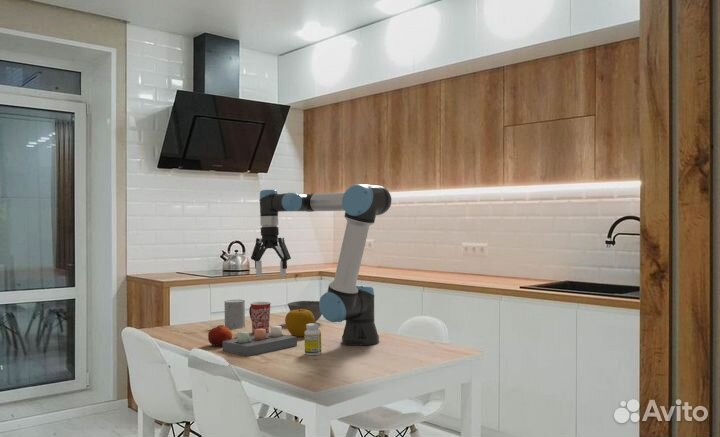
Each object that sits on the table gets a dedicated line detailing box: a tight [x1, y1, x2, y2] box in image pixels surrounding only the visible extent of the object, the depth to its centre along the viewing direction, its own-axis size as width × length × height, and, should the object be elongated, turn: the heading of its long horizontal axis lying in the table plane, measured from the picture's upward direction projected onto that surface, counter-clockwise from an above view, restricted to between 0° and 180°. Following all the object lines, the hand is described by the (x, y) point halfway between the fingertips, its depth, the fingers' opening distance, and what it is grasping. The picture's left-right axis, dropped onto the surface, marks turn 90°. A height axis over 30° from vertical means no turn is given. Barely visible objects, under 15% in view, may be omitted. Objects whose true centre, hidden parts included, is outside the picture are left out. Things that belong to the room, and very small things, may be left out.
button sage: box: [236, 331, 250, 344], centre depth 231 cm, size 4×4×4 cm
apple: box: [284, 309, 316, 338], centre depth 262 cm, size 13×13×11 cm
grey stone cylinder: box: [224, 299, 246, 330], centre depth 286 cm, size 10×10×12 cm
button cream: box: [270, 325, 283, 338], centre depth 243 cm, size 4×4×4 cm
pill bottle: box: [303, 322, 322, 356], centre depth 225 cm, size 6×6×11 cm
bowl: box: [286, 300, 323, 323], centre depth 293 cm, size 19×19×10 cm
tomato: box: [207, 324, 233, 347], centre depth 244 cm, size 9×9×8 cm
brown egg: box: [253, 329, 266, 341], centre depth 237 cm, size 4×4×4 cm
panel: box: [222, 331, 298, 357], centre depth 237 cm, size 16×24×4 cm, turn 137°
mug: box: [248, 301, 272, 335], centre depth 270 cm, size 13×9×14 cm
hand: (271, 276), depth 256 cm, fingers open, 13 cm apart
